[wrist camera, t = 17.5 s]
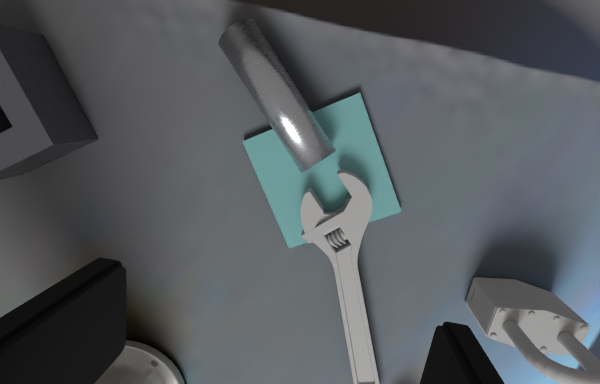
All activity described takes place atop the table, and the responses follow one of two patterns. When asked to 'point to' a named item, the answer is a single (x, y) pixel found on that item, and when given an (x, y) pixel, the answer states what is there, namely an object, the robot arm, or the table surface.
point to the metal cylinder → (275, 94)
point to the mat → (324, 168)
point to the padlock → (533, 326)
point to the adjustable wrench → (345, 265)
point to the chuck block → (35, 105)
